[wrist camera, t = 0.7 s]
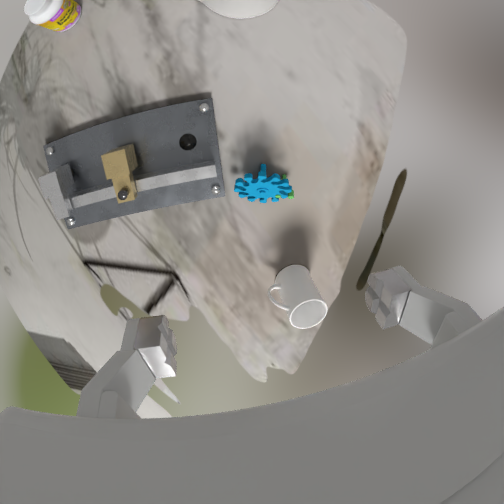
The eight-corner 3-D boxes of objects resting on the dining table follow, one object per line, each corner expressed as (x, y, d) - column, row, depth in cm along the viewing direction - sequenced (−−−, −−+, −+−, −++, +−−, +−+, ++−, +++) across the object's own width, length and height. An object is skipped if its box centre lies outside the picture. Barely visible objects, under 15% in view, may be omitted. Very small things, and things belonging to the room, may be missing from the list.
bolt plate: (46, 144, 38) (41, 146, 37) (211, 98, 41) (212, 98, 40) (70, 226, 48) (66, 230, 46) (224, 194, 51) (225, 197, 49)
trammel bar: (52, 168, 40) (34, 179, 34) (209, 126, 43) (210, 130, 36) (64, 208, 44) (48, 224, 38) (216, 173, 47) (218, 185, 41)
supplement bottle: (70, 35, 28) (36, 22, 17) (47, 29, 26) (12, 19, 15) (89, 5, 26) (60, -15, 15) (65, 1, 23) (34, -17, 12)
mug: (256, 288, 63) (266, 325, 53) (270, 257, 59) (285, 292, 49) (300, 296, 67) (316, 331, 57) (316, 268, 63) (336, 301, 53)
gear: (224, 197, 49) (249, 172, 41) (227, 170, 51) (251, 142, 42) (277, 211, 54) (308, 191, 45) (277, 184, 56) (306, 162, 47)
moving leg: (114, 147, 41) (100, 156, 35) (135, 142, 41) (123, 149, 35) (124, 192, 45) (113, 206, 39) (145, 187, 46) (136, 201, 39)
